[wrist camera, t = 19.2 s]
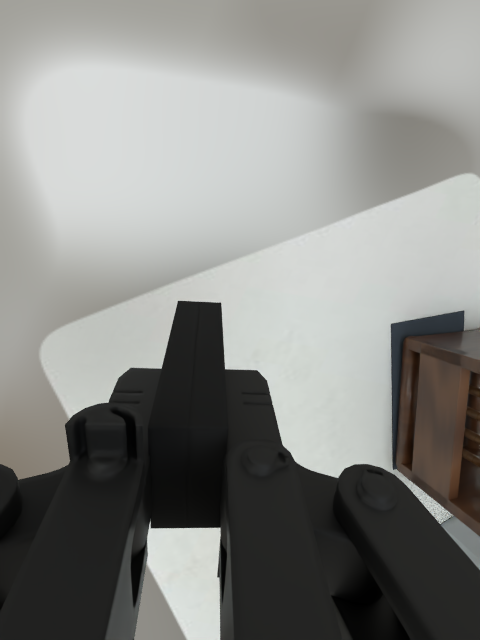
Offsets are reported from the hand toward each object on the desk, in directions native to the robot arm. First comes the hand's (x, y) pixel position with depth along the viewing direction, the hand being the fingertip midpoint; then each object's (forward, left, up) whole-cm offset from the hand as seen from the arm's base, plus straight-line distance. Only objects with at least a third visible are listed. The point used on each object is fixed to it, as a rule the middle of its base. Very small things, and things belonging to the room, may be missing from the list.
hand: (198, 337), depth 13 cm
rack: (+12, +33, -20) cm, 41 cm away
